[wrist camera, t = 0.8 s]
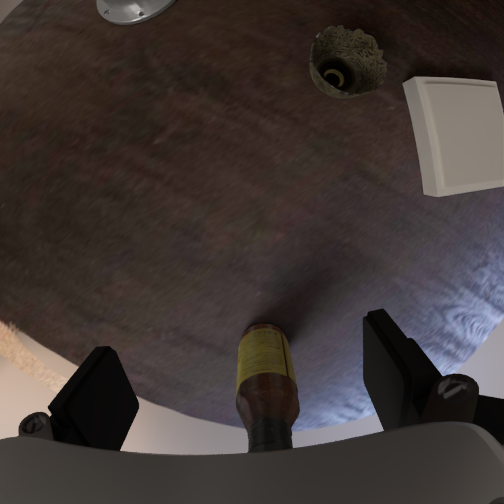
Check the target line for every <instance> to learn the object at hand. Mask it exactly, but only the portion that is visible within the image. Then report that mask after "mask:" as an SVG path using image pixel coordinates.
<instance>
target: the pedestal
mask: <svg viewBox="0 0 504 504" xmlns="http://www.w3.org/2000/svg"><path fill="white" fill-rule="evenodd" d="M403 87H404V91H405V95H406V99H407V103H408V107H409V111H410V115H411V120H412V125H413V129H414V134H415V139H416V145H417V150H418V156H419V162H420V169H421V175H422V183H423V191H424V194H425V195H430V196H435V197H441V196H447V195H453V194H459V193H465V192H471V191H477V190H483V189H489V188H496V187H502V186H504V114H503V109H502V105H501V100H500V96H499V92H498V88H497V85H496V82H494V81H485V80H475V79H462V78H445V77H413V78H411V79H410V80H408V81H406V82H404V83H403Z"/></svg>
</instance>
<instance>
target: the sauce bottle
mask: <svg viewBox="0 0 504 504" xmlns="http://www.w3.org/2000/svg"><path fill="white" fill-rule="evenodd" d="M297 393H298V389H297V384H296V379H295V374H294V369H293V364H292V359H291V354H290V349H289V344H288V341H287V339H286V337H285V335H284V333H283V332H282V331H281V330H280V329H279V328H278V327H276V326H274V325H271V324H264V323H263V324H257V325H254V326H252V327H250V328H248V329H247V330H246V331H245V332H244V334H243V335H242V338H241V342H240V344H239V350H238V368H237V388H236V408H237V411H238V413H239V415H240V417H241V420H242V422H243V424H244V426H245V428H246V430H247V433H248V439H249V451H248V452H247V453H254V452H265V451H275V450H284V449H291V448H293V446H292V438H291V436H292V430H291V428H292V426H293V424H294V422H295V421H296V419H297V418H298V415H299V412H300V407H299V400H298V395H297Z"/></svg>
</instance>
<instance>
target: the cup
mask: <svg viewBox="0 0 504 504" xmlns="http://www.w3.org/2000/svg"><path fill="white" fill-rule="evenodd" d="M382 56H383V50H381V49H378V47H377V42H376V40H375V38H374V37H373V36H370V35H367V34H365V33H364V31H363V30H361V29H356V31H350V30H349V29H344V28H343V25H339V26H338V27H337V28H336V27H334V26H329V27H327V28H326V29H325V31H324V32H323V33H322V34H321V33H320V32H319V33H318V35H317V36H316V40H315V41H314V42H313V43H312V46H311V49H310V62H309V68H310V74H311V77H312V79H313V81H314V83H315V85H316V86H317V87H318V88H319V89H320V90H321V91H322V92H323V93H325V94H327V95H329V96H331V97H334V98H338V99H350V98H355V97H358V96H361V95H364V94H368V93H371V92H373V91H375V90H376V89H377V87H378V86H379V85H381V84H382V83H383V82H384V81H383V79H382V78H384V76H385V75H386V74H387V68H386V65H387V62H386V61H385V60H384V59H382ZM331 73H332V74H335V75H337V76H338V77H339V84H338V85H337V86H333V85H331V84H329V83H328V82H327V81H326V76H327V75H328V74H331Z"/></svg>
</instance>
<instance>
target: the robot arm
mask: <svg viewBox="0 0 504 504" xmlns="http://www.w3.org/2000/svg"><path fill="white" fill-rule="evenodd" d="M175 1H176V0H97V3H96V4H97V9H98V11H99V13H100V14H101V15H102V16H103V17H104V18H105V19H106V20H108V21H109V22H112V23H114V24H120V25H130V24H135V23H140V22H143V21H146V20H148V19H150V18H153V17H155V16H157V15H158V14H160V13H162V12H163V11H165V10H166V9H167V8H168V7H170V6H171V5H172V4H173V3H174V2H175ZM363 380H364V384H365V387H366V389H367V391H368V394H369V396H370V398H371V401H372V403H373V405H374V408H375V410H376V412H377V415H378V417H379V420H380V422H381V424H382V427H383V429H384V431H382V432H378V433H373V434H369V435H364V436H359V437H354V438H349V439H345V440H340V441H335V442H329V443H324V444H318V445H312V446H306V447H300V448H291V449H284V450H275V451H265V452H254V453H240V454H221V455H220V454H218V455H171V454H151V453H137V452H125V451H120V449H121V447H122V445H123V442H124V440H125V438H126V436H127V434H128V431H129V429H130V427H131V425H132V423H133V420H134V418H135V416H136V414H137V412H138V409H139V402H138V399H137V397H136V395H135V393H134V391H133V389H132V387H131V385H130V382H129V380H128V378H127V376H126V374H125V371H124V369H123V367H122V364H121V362H120V360H119V357H118V355H117V353H116V351H115V350H113V349H112V348H111V347H110V346H101V347H96V348H95V349H94V350H93V351H92V352H91V353H90V355H89V356H88V357H87V358H86V359H85V361H84V362H83V363H82V364H81V366H80V367H79V368H78V369H77V371H76V372H75V373H74V374H73V375H72V377H71V378H70V379H69V380H68V382H67V383H66V384H65V385H64V387H63V388H62V389H61V390H60V392H59V393H58V394H57V396H56V397H55V398H54V399H53V401H52V402H51V403H50V405H49V406H48V409H49V411H50V412H51V414H52V415H51V416H50V417H49V416H48V415H47V414H46V413H44V412H36V413H32V414H30V415H28V416H27V417H26V418H24V419H23V420H22V421H21V423H20V425H19V436H17V437H10V438H5V439H1V440H0V504H504V399H500V398H495V397H489V396H483V395H479V387H478V384H477V382H476V381H475V380H474V379H473V378H471V377H469V376H467V375H463V374H449V375H446V376H442V375H441V374H440V372H439V371H438V370H437V368H436V367H435V366H434V364H433V363H432V362H431V361H430V359H429V358H428V357H427V355H426V354H425V353H424V352H423V350H422V349H421V348H420V347H419V345H418V344H417V343H416V342H415V340H414V339H412V338H407V337H406V336H405V335H404V333H403V332H402V331H401V329H400V328H399V327H398V326H397V324H396V323H395V322H394V321H393V319H392V318H391V317H390V316H389V314H388V313H387V312H386V311H385V310H384V309H379V310H374V311H369V312H368V314H367V316H365V317H363Z"/></svg>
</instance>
